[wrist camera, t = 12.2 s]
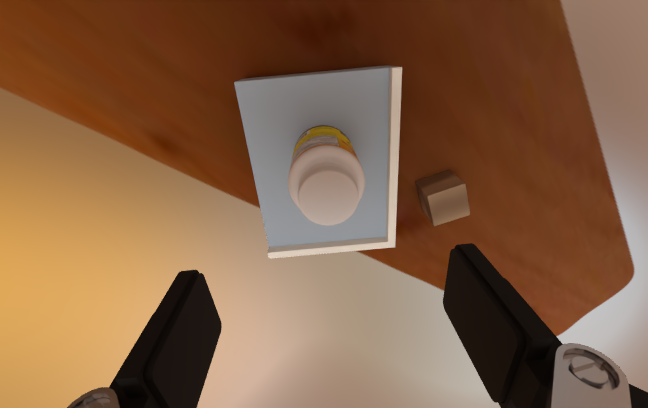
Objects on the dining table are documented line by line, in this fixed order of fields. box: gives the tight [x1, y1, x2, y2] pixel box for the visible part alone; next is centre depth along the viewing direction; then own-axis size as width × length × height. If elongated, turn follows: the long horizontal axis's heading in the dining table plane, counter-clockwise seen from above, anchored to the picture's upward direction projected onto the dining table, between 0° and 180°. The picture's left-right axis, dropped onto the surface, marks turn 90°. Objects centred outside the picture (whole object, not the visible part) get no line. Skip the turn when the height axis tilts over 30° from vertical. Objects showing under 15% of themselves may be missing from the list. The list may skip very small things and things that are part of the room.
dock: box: [234, 65, 402, 259], centre depth 30 cm, size 18×14×5 cm
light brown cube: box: [415, 170, 470, 226], centre depth 33 cm, size 4×4×4 cm
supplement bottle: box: [288, 125, 365, 226], centre depth 23 cm, size 6×6×10 cm
